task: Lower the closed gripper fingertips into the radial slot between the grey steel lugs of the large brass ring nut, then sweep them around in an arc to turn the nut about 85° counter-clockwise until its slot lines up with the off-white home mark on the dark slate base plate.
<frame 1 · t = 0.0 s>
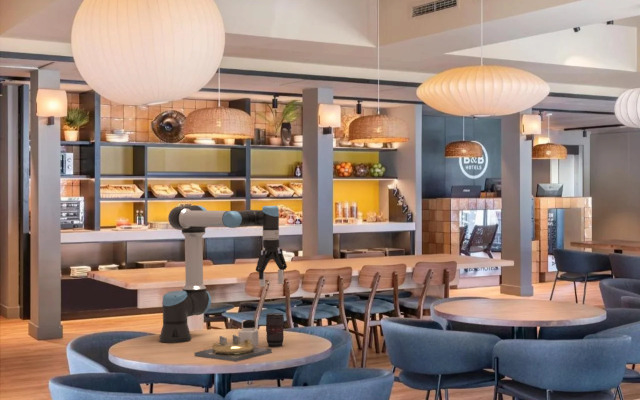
hand: (271, 285, 425), 28 cm above the table, fingers open, 13 cm apart
base plate: (233, 354, 405), on the table
ring nut: (233, 344, 405), point 4 cm above the table, hinge at 0.0°
camera lens: (275, 346, 424), on the table
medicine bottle: (248, 346, 426), on the table
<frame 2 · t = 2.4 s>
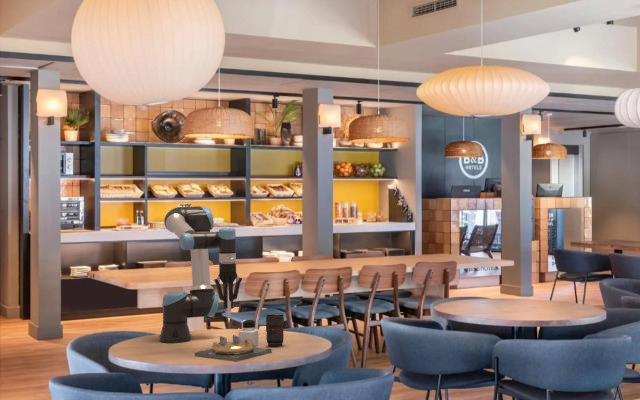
hand: (228, 315, 410), 16 cm above the table, fingers closed
nothing on the table moved.
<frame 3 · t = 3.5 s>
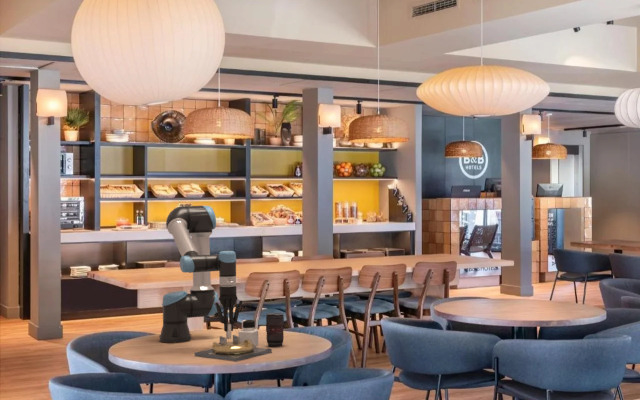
hand: (228, 338, 410), 6 cm above the table, fingers closed
nothing on the table moved.
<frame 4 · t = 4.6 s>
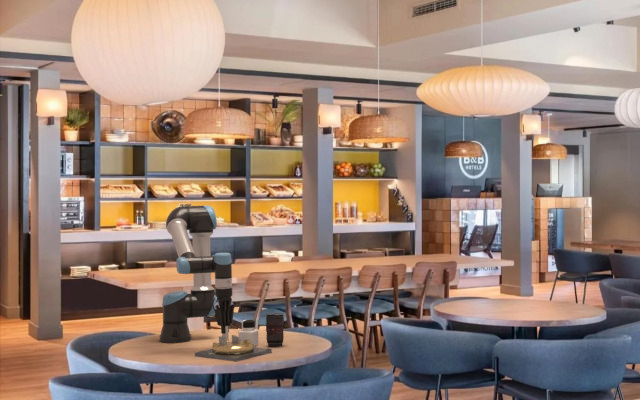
hand: (225, 340, 409), 5 cm above the table, fingers closed
ring nut: (233, 344, 405), point 4 cm above the table, hinge at 3.1°, touching gripper
everything else where it was.
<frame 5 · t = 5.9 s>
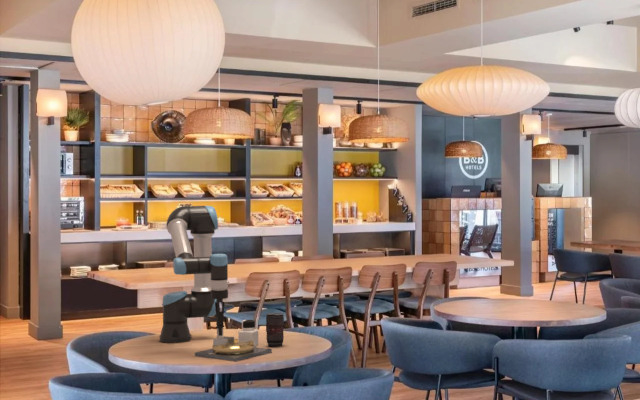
hand: (220, 342, 405), 5 cm above the table, fingers closed
ring nut: (233, 344, 405), point 4 cm above the table, hinge at 47.9°, touching gripper
everything else where it was.
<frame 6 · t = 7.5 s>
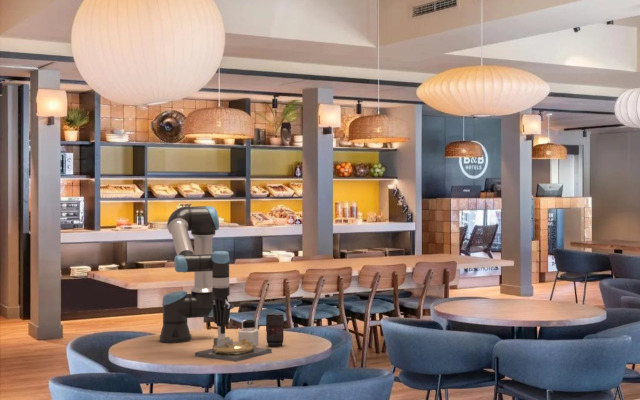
hand: (221, 340, 402), 7 cm above the table, fingers closed
ring nut: (233, 344, 405), point 4 cm above the table, hinge at 85.0°, touching gripper
everything else where it was.
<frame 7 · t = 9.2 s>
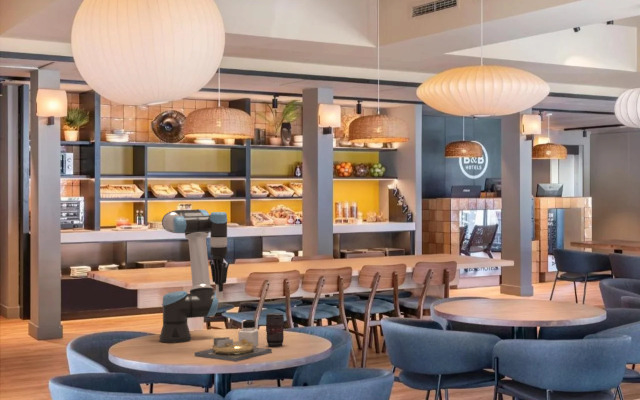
hand: (219, 298, 415), 23 cm above the table, fingers closed
ring nut: (233, 344, 405), point 4 cm above the table, hinge at 85.5°
everything else where it was.
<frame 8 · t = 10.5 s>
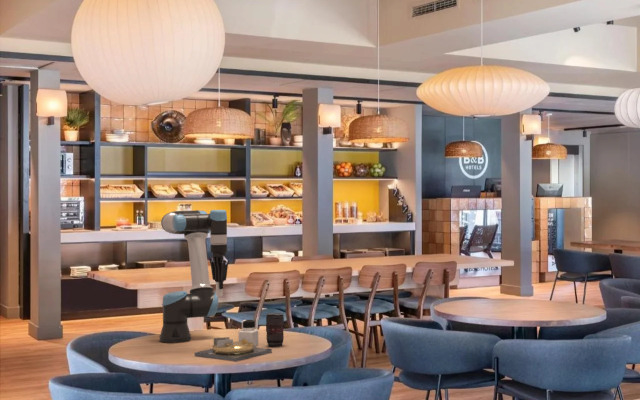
hand: (219, 296, 416), 24 cm above the table, fingers closed
nothing on the table moved.
at the end: ring nut at +86° (first picture: +0°) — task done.
